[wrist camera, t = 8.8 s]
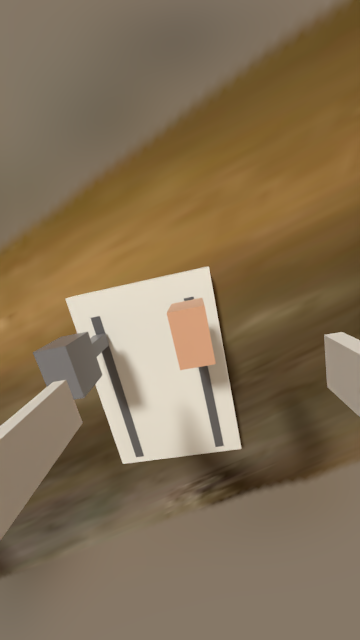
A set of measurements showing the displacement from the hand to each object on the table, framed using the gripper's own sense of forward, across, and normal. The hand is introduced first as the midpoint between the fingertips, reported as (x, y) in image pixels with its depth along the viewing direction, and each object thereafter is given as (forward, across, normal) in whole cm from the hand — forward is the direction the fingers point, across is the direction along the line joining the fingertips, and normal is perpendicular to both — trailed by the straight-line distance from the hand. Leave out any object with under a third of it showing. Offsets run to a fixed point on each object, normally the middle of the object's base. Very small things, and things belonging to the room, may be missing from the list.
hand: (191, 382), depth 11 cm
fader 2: (+16, 0, 0) cm, 16 cm away
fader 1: (+15, -12, -1) cm, 20 cm away
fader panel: (+19, -6, -8) cm, 21 cm away
